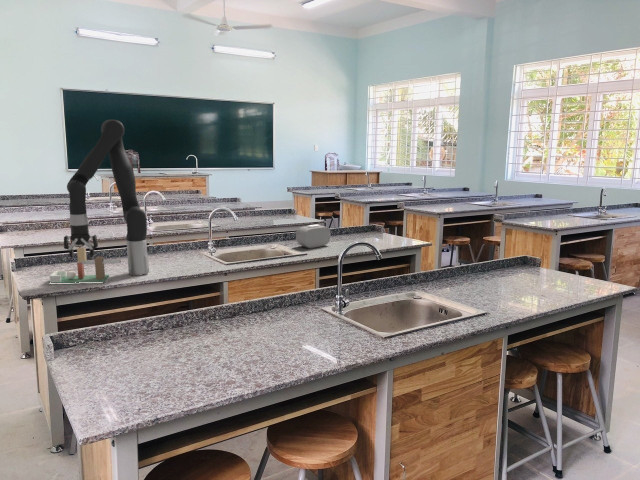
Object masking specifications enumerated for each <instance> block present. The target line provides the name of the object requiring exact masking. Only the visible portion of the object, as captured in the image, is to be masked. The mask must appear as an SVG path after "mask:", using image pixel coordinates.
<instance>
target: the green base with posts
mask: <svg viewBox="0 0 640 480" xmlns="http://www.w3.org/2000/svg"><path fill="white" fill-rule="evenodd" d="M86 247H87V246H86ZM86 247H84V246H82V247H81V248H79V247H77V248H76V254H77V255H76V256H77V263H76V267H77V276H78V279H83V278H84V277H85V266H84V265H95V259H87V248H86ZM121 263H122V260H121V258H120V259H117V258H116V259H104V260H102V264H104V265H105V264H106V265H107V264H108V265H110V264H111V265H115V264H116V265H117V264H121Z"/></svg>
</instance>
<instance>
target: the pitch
mask: <svg viewBox="0 0 640 480" xmlns="http://www.w3.org/2000/svg"><path fill="white" fill-rule="evenodd" d="M94 260H95V264H94V267H95V274H90V275H89V274H87V275H85V277H84V278H83V279H78V275H76V276H75V278H74V279H69V278H67V270H66V269H65V270H55V271H53V273H51V274H50V275H49V282H51V283H75V282H76V283H79V282H104V281H105V280H106V279H107V278H109V277H110V274H106V273H105V271H106V269H105V264H102V260H105V258H104V256H100V255H99V256H96V257H95V258H94ZM106 281H107V280H106ZM106 281H105V282H106ZM105 282H104V283H105Z"/></svg>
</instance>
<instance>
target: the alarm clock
mask: <svg viewBox="0 0 640 480" xmlns="http://www.w3.org/2000/svg"><path fill="white" fill-rule="evenodd" d="M331 234H332V232H331V229H330V228H329V227H327V226H324V225H320V224H310V225H309V224H308V225H306V226H305V225H304V226H301V227H299V228H298V229H297V230H296V233H295V240H296V243H297V244H298V245H300V246H301V247H303V248H307V249H314V248H319V247H324V246H326V245H328V243H330V240H331Z"/></svg>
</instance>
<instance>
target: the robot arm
mask: <svg viewBox="0 0 640 480" xmlns="http://www.w3.org/2000/svg"><path fill="white" fill-rule="evenodd" d="M100 132H101V135H100V138H99V139H98V141H97V143H96V144H95V145H94V146H93V148H92V149H91V150H90V152H88V153H87V155H86V156H85V158H84V159H83V161H82V162H81V164H80V165H79V167H78V169H77V170H76V172H75V173H74V174H73V175H72V177H70V179H69V180H68V183H67V185H66V190H67V191H68V194H69V195H68V196H69V205H68V206H69V225H70V235H65V236H63V249H65V250H68V254H69V257H70V258H71V259H74V257H75V255H74V247H75V245H84V246H86V247H87V248H88V249H89V257H90V258H93V257H94V256H95V249H97V248H98V247H99V246H98V244H99V243H98V237H97V234H94V235H90V230H89V219H88V213H87V204H86V199H87V197H86V196H87V192H86V191H87V189H86V185H87V184H88V182H89V181H90V180H92V179H93V178H94V176H95V175H96V173H97V172H98V170H99V168H100V166H101V165H102V163H103V162H104V160H105V158H106V157H107V155H108V156H109V162H110V166H111V171H112V176H113V179H114V182H115V183H114V184H115V186H116V189H117V192H118V194H119V197H120V201H121V207H122V214H123V219H124V221H125V223H126V231H127V232H126V235H125V236H126V237H125V238H126V252H127V267H128V268H127V269H128V275H129V274H130V276H134V275H137V276H142V275H141V274H145V275H148V274H149V272H150V267H149V266H150V265H149V264H150V263H149V253H148V247H147V234H148V227H147V225H148V224H147V222H148V221H147V214H146V213H145V211H144V210H143V209H142V208H141V207H140V203H139V201H138V197H137V193H136V192H137V191H136V189H137V188H136V177H135V173H134V168H133V165H132V162H131V160H130V158H129V156H128V154H127V152H126V149H125V147H124V141H123V136H124V135H125V126H124V124H123V123H122V122H121V121H120V120H116V119H106V120H105V121H103V122H102V124H101V127H100ZM70 239H71V240H72V241H73V243H71V244H70V245H69V241H70ZM90 239H91V241H92V242H91V241H90ZM147 273H148V274H147Z"/></svg>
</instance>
